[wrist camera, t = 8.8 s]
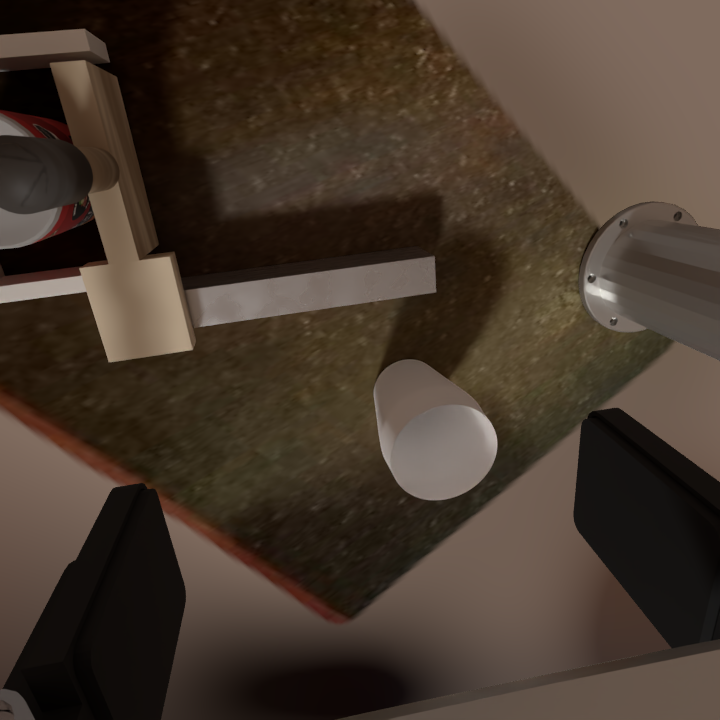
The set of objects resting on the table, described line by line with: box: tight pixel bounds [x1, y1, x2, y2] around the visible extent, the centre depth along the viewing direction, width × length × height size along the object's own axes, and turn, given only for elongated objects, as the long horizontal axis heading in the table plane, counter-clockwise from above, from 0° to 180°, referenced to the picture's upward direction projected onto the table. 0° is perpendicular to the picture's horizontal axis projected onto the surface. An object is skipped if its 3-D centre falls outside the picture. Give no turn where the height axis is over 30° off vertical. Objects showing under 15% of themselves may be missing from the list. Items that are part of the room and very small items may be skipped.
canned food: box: [0, 110, 95, 249], centre depth 33 cm, size 8×8×11 cm
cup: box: [374, 359, 497, 500], centre depth 45 cm, size 9×9×12 cm
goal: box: [0, 29, 110, 303], centre depth 34 cm, size 13×16×10 cm
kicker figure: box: [0, 60, 196, 362], centre depth 31 cm, size 6×19×18 cm, turn 6°
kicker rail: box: [181, 246, 436, 328], centre depth 42 cm, size 22×3×5 cm, turn 96°
